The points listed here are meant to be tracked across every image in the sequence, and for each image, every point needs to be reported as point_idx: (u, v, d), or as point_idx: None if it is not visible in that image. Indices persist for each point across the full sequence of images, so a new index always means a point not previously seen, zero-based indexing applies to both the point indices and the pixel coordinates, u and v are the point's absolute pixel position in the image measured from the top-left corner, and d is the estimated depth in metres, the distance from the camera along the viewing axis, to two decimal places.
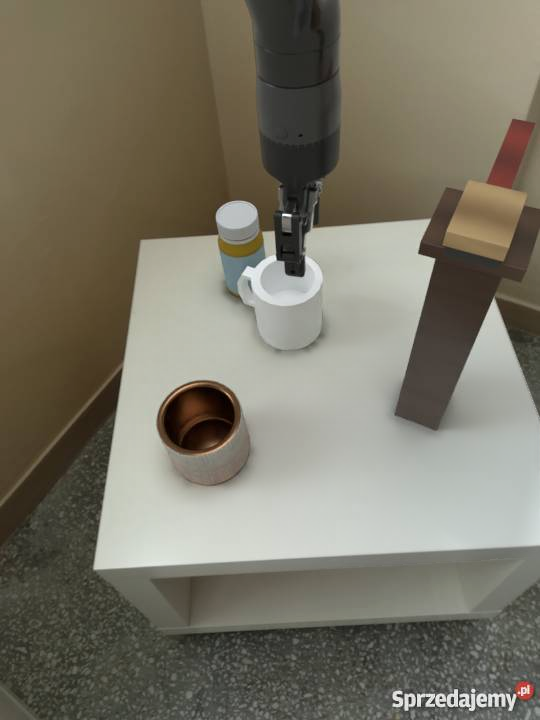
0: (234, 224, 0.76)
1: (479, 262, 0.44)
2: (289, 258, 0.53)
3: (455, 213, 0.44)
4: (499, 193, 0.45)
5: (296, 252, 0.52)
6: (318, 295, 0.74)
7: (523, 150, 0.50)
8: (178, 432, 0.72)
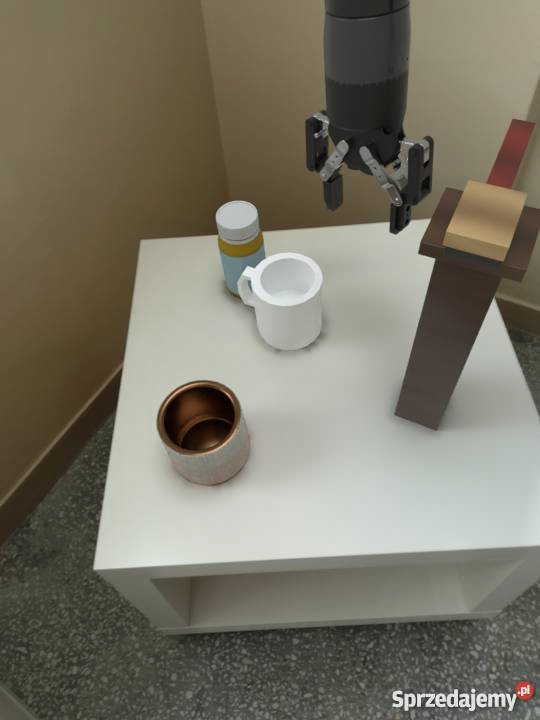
0: (234, 224, 0.76)
1: (479, 262, 0.44)
2: (425, 193, 0.52)
3: (455, 213, 0.44)
4: (499, 193, 0.45)
5: (430, 180, 0.52)
6: (318, 295, 0.74)
7: (523, 150, 0.50)
8: (178, 432, 0.72)
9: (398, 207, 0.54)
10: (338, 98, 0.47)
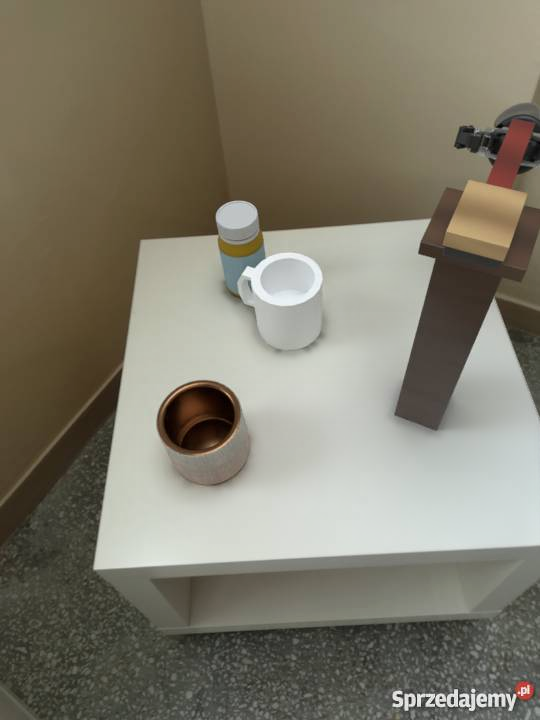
0: (234, 224, 0.76)
1: (479, 262, 0.44)
2: None
3: (455, 213, 0.44)
4: (499, 193, 0.45)
5: None
6: (318, 295, 0.74)
7: (523, 150, 0.50)
8: (178, 432, 0.72)
9: None
10: None
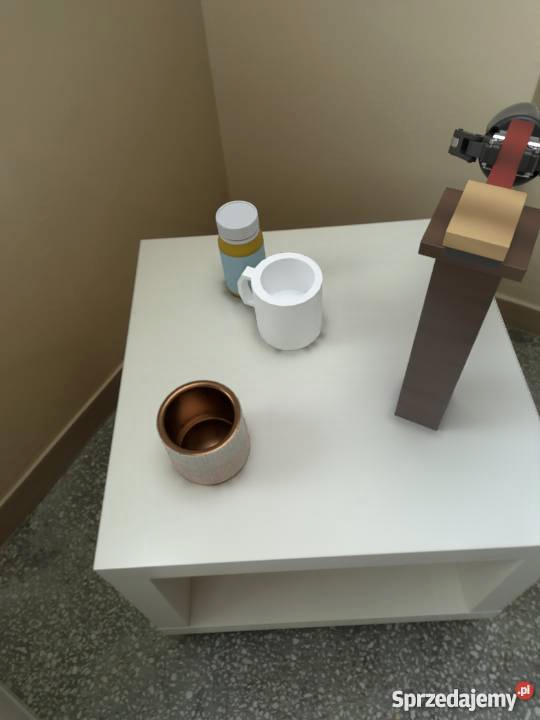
0: (234, 224, 0.76)
1: (479, 262, 0.44)
2: None
3: (455, 213, 0.44)
4: (499, 193, 0.45)
5: (466, 136, 0.54)
6: (318, 295, 0.74)
7: (523, 150, 0.50)
8: (178, 432, 0.72)
9: None
10: None
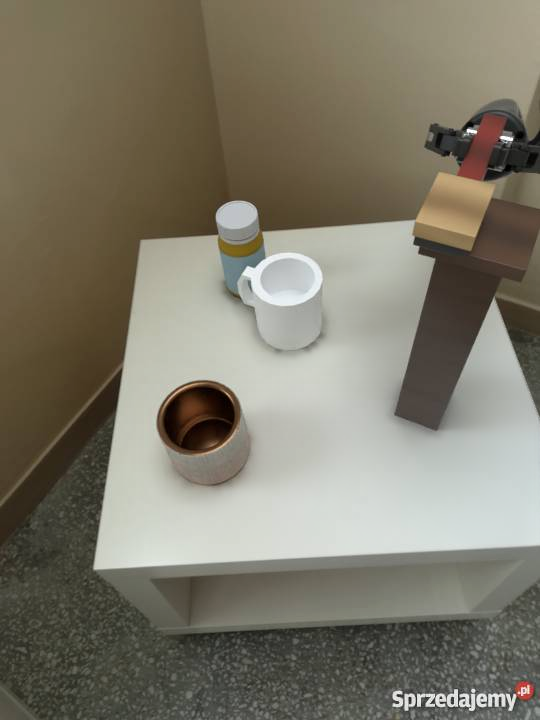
0: (234, 224, 0.76)
1: (448, 252, 0.45)
2: None
3: (424, 204, 0.45)
4: (468, 185, 0.46)
5: (440, 130, 0.55)
6: (318, 295, 0.74)
7: (494, 144, 0.50)
8: (178, 432, 0.72)
9: None
10: None
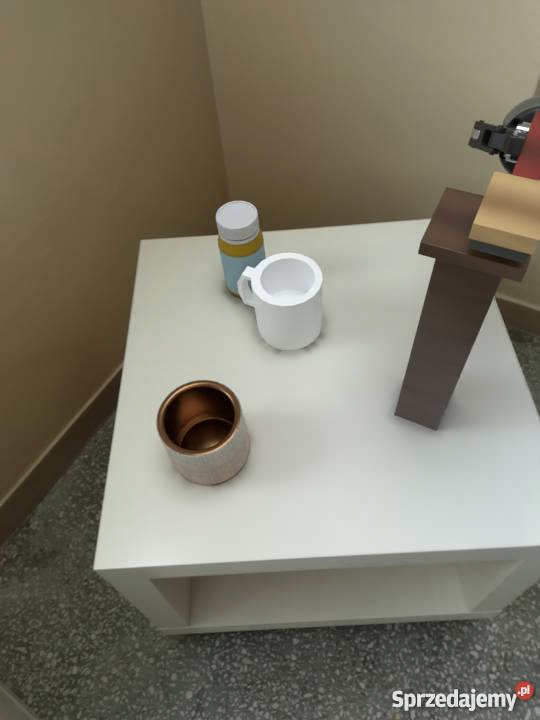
0: (234, 224, 0.76)
1: (507, 256, 0.42)
2: None
3: (482, 205, 0.42)
4: (527, 184, 0.43)
5: (488, 127, 0.52)
6: (318, 295, 0.74)
7: None
8: (178, 432, 0.72)
9: None
10: None
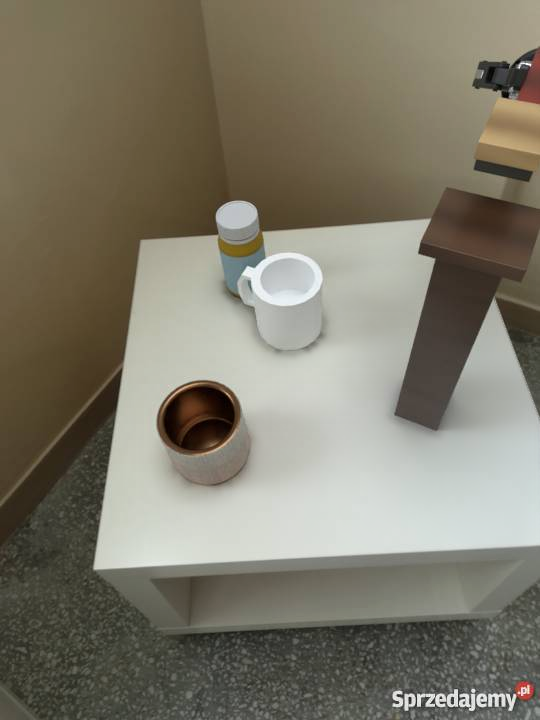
0: (234, 224, 0.76)
1: (510, 175, 0.44)
2: None
3: (486, 126, 0.44)
4: (530, 108, 0.45)
5: (492, 65, 0.54)
6: (318, 295, 0.74)
7: None
8: (178, 432, 0.72)
9: None
10: None
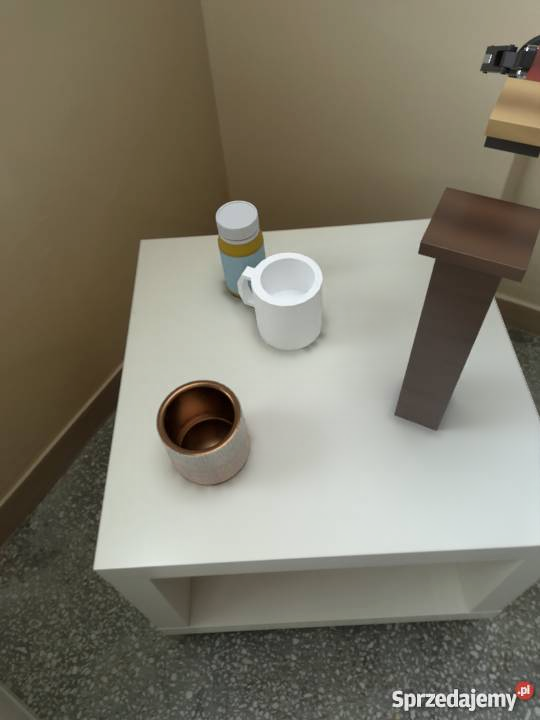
0: (234, 224, 0.76)
1: (520, 151, 0.46)
2: None
3: (497, 104, 0.46)
4: (538, 87, 0.47)
5: (500, 48, 0.55)
6: (318, 295, 0.74)
7: None
8: (178, 432, 0.72)
9: None
10: None
